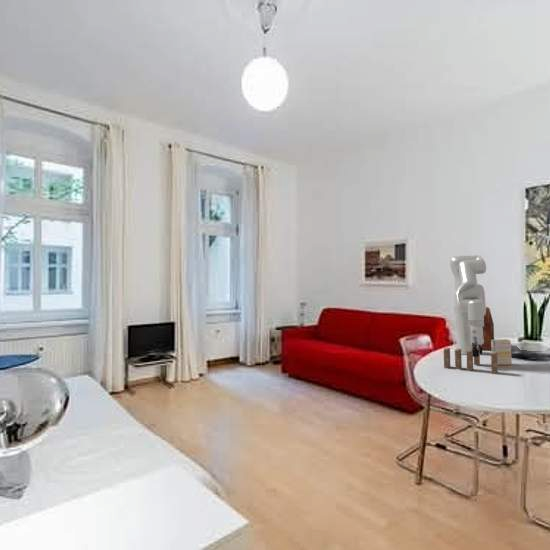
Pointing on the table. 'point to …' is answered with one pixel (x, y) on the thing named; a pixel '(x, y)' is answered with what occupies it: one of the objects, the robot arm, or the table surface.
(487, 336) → the handbag
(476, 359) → the domino
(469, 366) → the domino
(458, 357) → the domino
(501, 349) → the supplement box
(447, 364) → the domino
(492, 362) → the domino
